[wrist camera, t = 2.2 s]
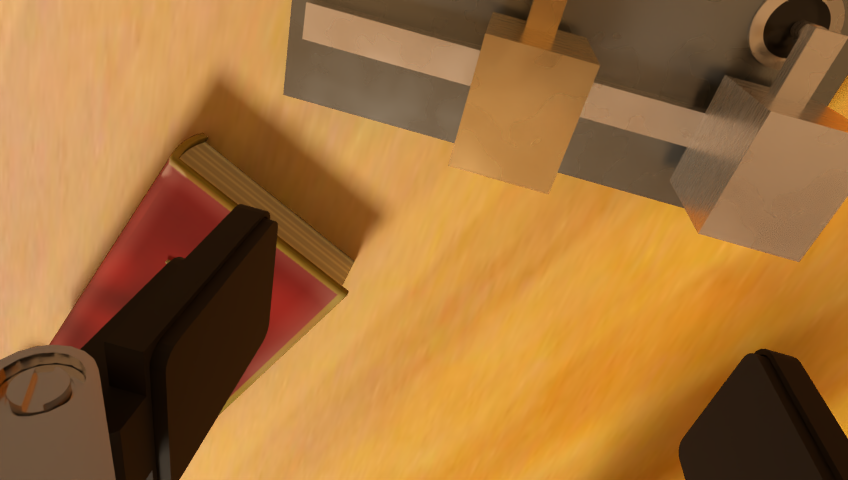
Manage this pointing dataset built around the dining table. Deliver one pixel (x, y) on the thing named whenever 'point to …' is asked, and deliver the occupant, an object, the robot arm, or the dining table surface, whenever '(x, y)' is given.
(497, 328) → the dining table surface
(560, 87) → the leg
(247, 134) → the dining table surface
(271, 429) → the dining table surface
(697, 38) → the plate
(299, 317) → the hardcover book
